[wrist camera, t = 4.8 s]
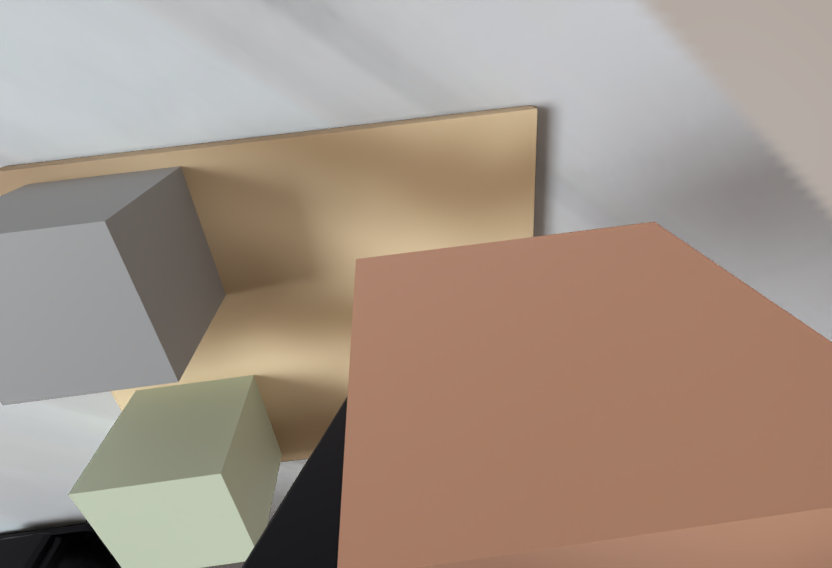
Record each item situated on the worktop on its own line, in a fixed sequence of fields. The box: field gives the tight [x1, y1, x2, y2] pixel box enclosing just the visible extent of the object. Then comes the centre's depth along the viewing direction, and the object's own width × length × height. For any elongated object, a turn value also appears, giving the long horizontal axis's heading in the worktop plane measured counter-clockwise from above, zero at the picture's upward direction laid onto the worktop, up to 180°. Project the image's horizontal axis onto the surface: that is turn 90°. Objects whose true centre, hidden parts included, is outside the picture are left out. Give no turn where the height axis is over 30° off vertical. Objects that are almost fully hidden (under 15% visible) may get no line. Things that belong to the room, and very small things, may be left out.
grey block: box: [0, 166, 226, 405], centre depth 14 cm, size 5×5×5 cm
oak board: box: [0, 105, 537, 462], centre depth 19 cm, size 15×18×1 cm
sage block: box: [68, 375, 282, 568], centre depth 19 cm, size 5×5×5 cm
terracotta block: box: [337, 222, 832, 568], centre depth 7 cm, size 5×5×5 cm
